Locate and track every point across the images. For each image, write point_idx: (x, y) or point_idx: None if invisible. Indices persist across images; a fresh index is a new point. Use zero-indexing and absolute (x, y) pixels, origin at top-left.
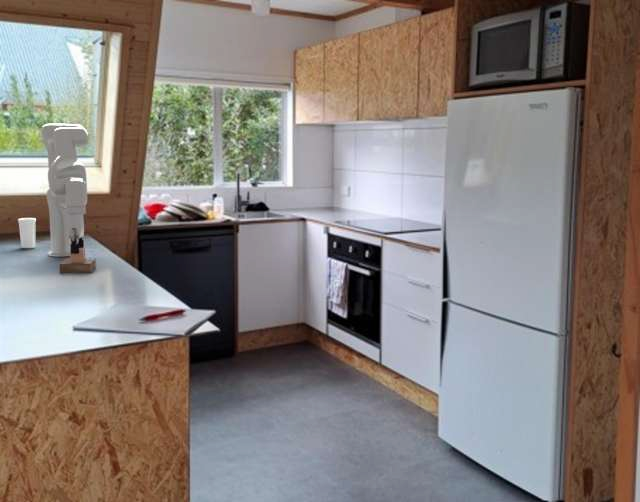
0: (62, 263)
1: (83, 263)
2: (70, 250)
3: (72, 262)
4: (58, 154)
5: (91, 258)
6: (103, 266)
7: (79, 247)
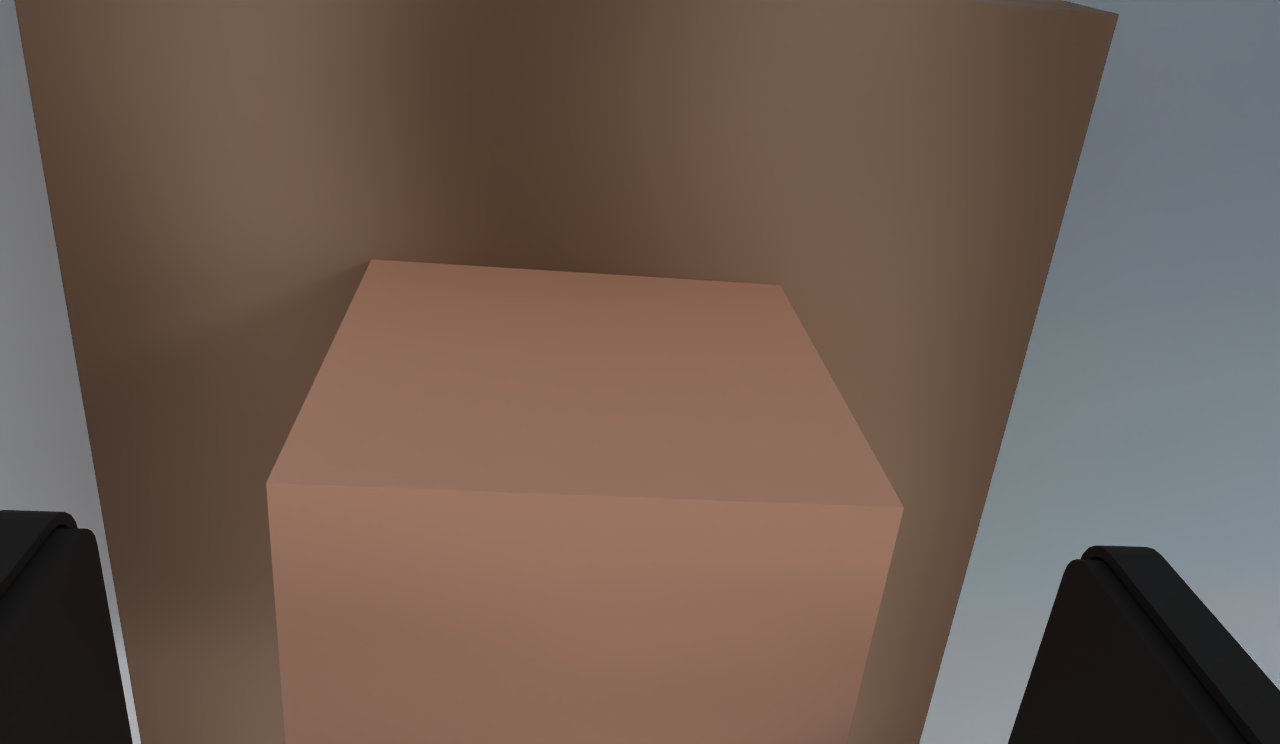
0: (95, 30)
1: (164, 633)
2: (269, 506)
3: (315, 335)
4: None
5: (902, 706)
6: (931, 722)
7: (1065, 722)
